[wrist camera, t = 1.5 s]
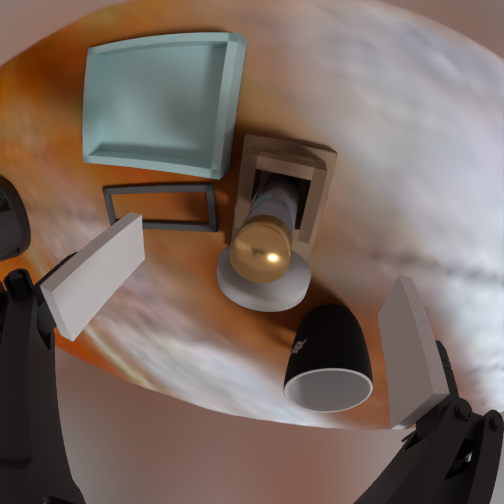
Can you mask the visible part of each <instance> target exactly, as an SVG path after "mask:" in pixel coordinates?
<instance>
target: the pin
mask: <svg viewBox="0 0 504 504" xmlns="http://www.w3.org/2000/svg"><path fill="white" fill-rule="evenodd" d="M299 191H300V184H299V181H298V179H297V178H296V177H294V176H290V175H285V174H280V173H275V172H274V173H273V174H271V175H270V176H269V178H268V179H267V181H266V183H265V185H264V187H263V188H262V190H261V192H260V194H259V196H258V197H257V199H256V201H255V203H254V205H253V206H252V208H251V210H250V212H249V214H248V216H247V217H246V219H245V221H244V223H243V225H242V227H241V228H240V230H239V232H238V234H237V236H236V238H235V239H234V241H233V243H232V245H231V248H230V252H229V256H230V261H231V264H232V266H233V268H234V269H235V271H236V272H237V273H238V274H239V275H240V276H242V277H243V278H245V279H247V280H249V281H252V282H255V283H270V282H273V281H276V280H278V279H279V278H281V277H282V276H283V275H284V274H285V272H286V271H287V269H288V266H289V262H290V255H291V249H292V242H293V235H294V228H295V221H296V214H297V207H298V199H299Z"/></svg>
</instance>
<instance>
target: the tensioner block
mask: <svg viewBox="0 0 504 504" xmlns="http://www.w3.org/2000/svg"><path fill="white" fill-rule="evenodd" d="M337 155H338V154H337V152H334V151H330V150H326V149H322V148H317V147H313V146H309V145H304V144H300V143H295V142H290V141H285V140H280V139H275V138H269V137H264V136H258V135H252V134H246V135H245V136H244V144H243V151H242V158H241V165H240V173H239V181H238V188H237V196H236V204H235V212H234V220H233V229H232V237H231V245H232V243H233V241H234V239H235V238H236V236H237V234H238V232H239V230H240V228H241V227H242V225H243V223H244V221H245V219H246V217H247V216H248V214H249V212H250V210H251V208H252V206H253V205H254V203H255V201H256V199H257V197H258V196H259V194H260V192H261V190H262V188H263V187H264V185H265V183H266V181H267V179H268V178H269V176H270V175H271V174H273V173H274V172H275V173H280V174H285V175H290V176H294V177H296V178H297V179H298V181H299V184H300V191H299V199H298V207H297V214H296V221H295V228H294V235H293V242H292V249H291V255H290V262H289V266H288V269H287V271H286V272H285V274H284V275H283V276H282V277H281V278H279V279H278V280H276V281H273V282H270V283H255V282H252V281H249V280H247V279H245V278H243V277H242V276H240V275H239V274H238V273H237V272H236V271H235V269H234V268H233V266H232V264H231V261H230V256H229V252H230V248H231V245H230V246H228V247H226V248H225V249H224V250H223V251H222V252H221V253H220V255H219V257H218V265H217V283H218V285H219V288H220V289H221V291H222V292H223V293H224V294H225V295H226V296H227V297H228V298H229V299H230V300H232V301H233V302H235V303H237V304H239V305H241V306H243V307H246V308H249V309H252V310H257V311H264V312H276V311H283V310H287V309H290V308H292V307H294V306H296V305H297V304H299V303H300V302H301V301H302V300H303V298H304V297H305V294H306V291H307V288H308V285H309V282H310V279H311V270H310V267H309V265H308V263H309V260H310V256H311V253H312V250H313V246H314V243H315V239H316V236H317V232H318V229H319V225H320V222H321V218H322V214H323V211H324V207H325V203H326V199H327V195H328V192H329V188H330V184H331V180H332V176H333V172H334V167H335V163H336V159H337Z"/></svg>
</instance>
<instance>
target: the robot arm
mask: <svg viewBox="0 0 504 504" xmlns="http://www.w3.org/2000/svg"><path fill="white" fill-rule="evenodd" d="M29 245H30V227H29V222H28V218H27V215H26V212H25V209H24V206H23V204H22V201H21V199H20V197H19V195H18V193H17V192H16V190H15V189H14V187H13V186H12V185H11V184H10V183H9V182H8V181H7V180H5V179H0V262H1V261H4V260H7V259H10V258H13V257H17V256H19V255H21V254H22V253H23V252H24V251H26V250H27V249H28V247H29ZM144 259H145V256H144V244H143V230H142V215H140V214H136V213H131V212H130V213H128V214H127V215H125V216H124V217H123V218H121V219H120V220H119V221H117V222H116V223H115V224H113V225H112V226H111V227H109V228H108V229H107V230H105V231H104V232H103V233H101V234H100V235H99V236H98V237H96V238H95V239H94V240H93V241H91V242H90V243H89V244H88V245H86V246H85V247H84V248H83V249H81V250H80V251H79V252H75V253H73V254H71V255H69V256H67V257H66V258H65V259H64V260H62V261H61V262H60V264H58V265H56V266H55V267H54V269H52V270H51V271H50V272H48V273H47V274H46V275H45V276H44V277H43V278H42V279H41V280H40V281H38V282H37V283H36V284H35V285H34V286H33V283H32V280H31V278H30V275H29V272H28V271H27V270H26V269H16V270H13V271H12V272H10V273H9V274H8V275H7V276H6V277H5V278H4V280H3V282H4V284H5V286H6V289H7V291H6V290H5V288H4V286H3V284H2V282H1V281H0V504H44V503H45V504H86V503H85V500H84V498H83V495H82V493H81V491H80V489H79V488H78V487H77V485H76V484H75V483H74V481H73V479H72V476H71V472H70V469H69V464H68V461H67V456H66V452H65V447H64V441H63V436H62V430H61V424H60V417H59V409H58V401H57V390H56V376H55V335H54V331H53V329H54V328H55V327H56V326H57V327H58V329H59V332H60V334H61V335H62V336H64V337H66V338H67V339H69V340H71V341H74V340H75V338H76V337H77V336H78V335H79V333H80V332H81V331H82V330H83V329H84V327H85V326H86V325H87V324H88V322H89V321H90V320H91V319H92V318H93V317H94V315H95V314H96V313H97V312H98V311H99V309H100V308H101V307H102V306H103V305H104V304H105V302H106V301H107V300H108V299H109V298H110V297H111V296H112V294H113V293H114V292H115V291H116V290H117V289H118V288H119V287H120V285H121V284H122V283H123V282H124V281H125V280H126V279H127V278H128V277H129V276H130V274H131V273H132V272H133V271H134V270H135V269H136V268H137V267H138V266H139V265H140V264H141V263H142V262H143V261H144ZM378 321H379V327H380V333H381V339H382V345H383V352H384V358H385V366H386V374H387V382H388V392H389V403H390V416H391V429H408V428H409V427H410V426H412V425H413V424H414V423H416V430H415V431H413V432H412V433H411V434H409V435H408V436H406V437H405V438H404V439H403V440H402V442H404V441H405V440H407V441H406V442H405V444H404V445H403V446H402V448H401V449H400V450H399V452H398V453H397V454H396V456H395V457H394V458H393V460H392V461H391V462H390V464H389V465H388V466H387V467H386V468H385V470H384V471H383V472H382V473H381V475H380V476H379V477H378V478H377V479H376V480H375V481H374V482H373V483H372V485H371V486H370V487H369V488H368V489H367V490H366V491H365V492H364V493H363V494H362V495H361V496H360V497H359V499H357V500H356V501H355V502H354V503H353V504H489V503H490V500H491V497H492V493H493V489H494V485H495V481H496V476H497V472H498V467H499V461H500V456H501V448H502V441H503V432H504V422H503V418H502V416H501V415H500V413H499V412H497V411H496V410H490V411H488V412H487V413H486V414H485V415H484V416H481V415H479V414H476V413H473V412H472V408H471V406H470V404H469V403H468V402H467V401H466V400H464V399H463V398H459V394H458V390H457V386H456V382H455V379H454V375H453V371H452V370H451V365H450V362H449V358H448V355H447V352H446V349H445V348H444V346H443V345H442V343H441V342H440V341H437V340H435V339H434V336H433V333H432V330H431V327H430V324H429V321H428V318H427V315H426V313H425V310H424V307H423V305H422V302H421V299H420V297H419V294H418V292H417V289H416V287H415V285H414V282H413V280H412V278H409V277H405V276H401V275H399V276H398V278H397V280H396V282H395V284H394V286H393V288H392V290H391V292H390V294H389V296H388V298H387V300H386V302H385V303H384V305H383V307H382V309H381V311H380V312H379V314H378ZM470 455H472V456H471V460H470V461H469V462H468V457H469V456H470Z"/></svg>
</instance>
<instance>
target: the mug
mask: <svg viewBox="0 0 504 504" xmlns="http://www.w3.org/2000/svg"><path fill="white" fill-rule="evenodd" d="M372 389H373V378H372V370H371V364H370V359H369V354H368V350H367V346H366V342H365V338H364V335H363V332H362V330H361V327H360V325H359V323H358V321H357V319H356V317H355V316H354V315H353V314H352V313H351V312H350V311H349V310H347V309H346V308H344V307H341V306H337V305H324V306H320V307H317V308H315V309H313V310H312V311H310V312H309V313H308V314H307V315H306V316H305V317H304V319H303V320H302V322H301V324H300V326H299V328H298V331H297V333H296V336H295V339H294V343H293V346H292V350H291V354H290V358H289V362H288V366H287V371H286V375H285V381H284V395H285V397H286V399H287V400H288V401H289V402H290V403H292V404H293V405H295V406H297V407H299V408H301V409H304V410H308V411H313V412H337V411H343V410H347V409H350V408H352V407H355V406H357V405H359V404H361V403H362V402H364V401H365V400H366V399H367V398H368V397H369V396H370V394H371V392H372Z"/></svg>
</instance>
